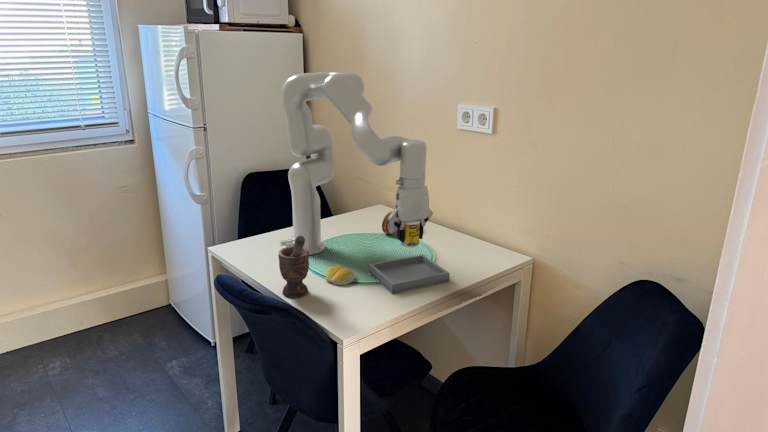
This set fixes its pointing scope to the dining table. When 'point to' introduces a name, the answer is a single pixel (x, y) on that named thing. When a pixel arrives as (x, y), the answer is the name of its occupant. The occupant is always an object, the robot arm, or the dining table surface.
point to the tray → (408, 273)
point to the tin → (388, 225)
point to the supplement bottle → (411, 233)
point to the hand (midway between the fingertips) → (410, 238)
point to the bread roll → (339, 275)
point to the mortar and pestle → (294, 268)
